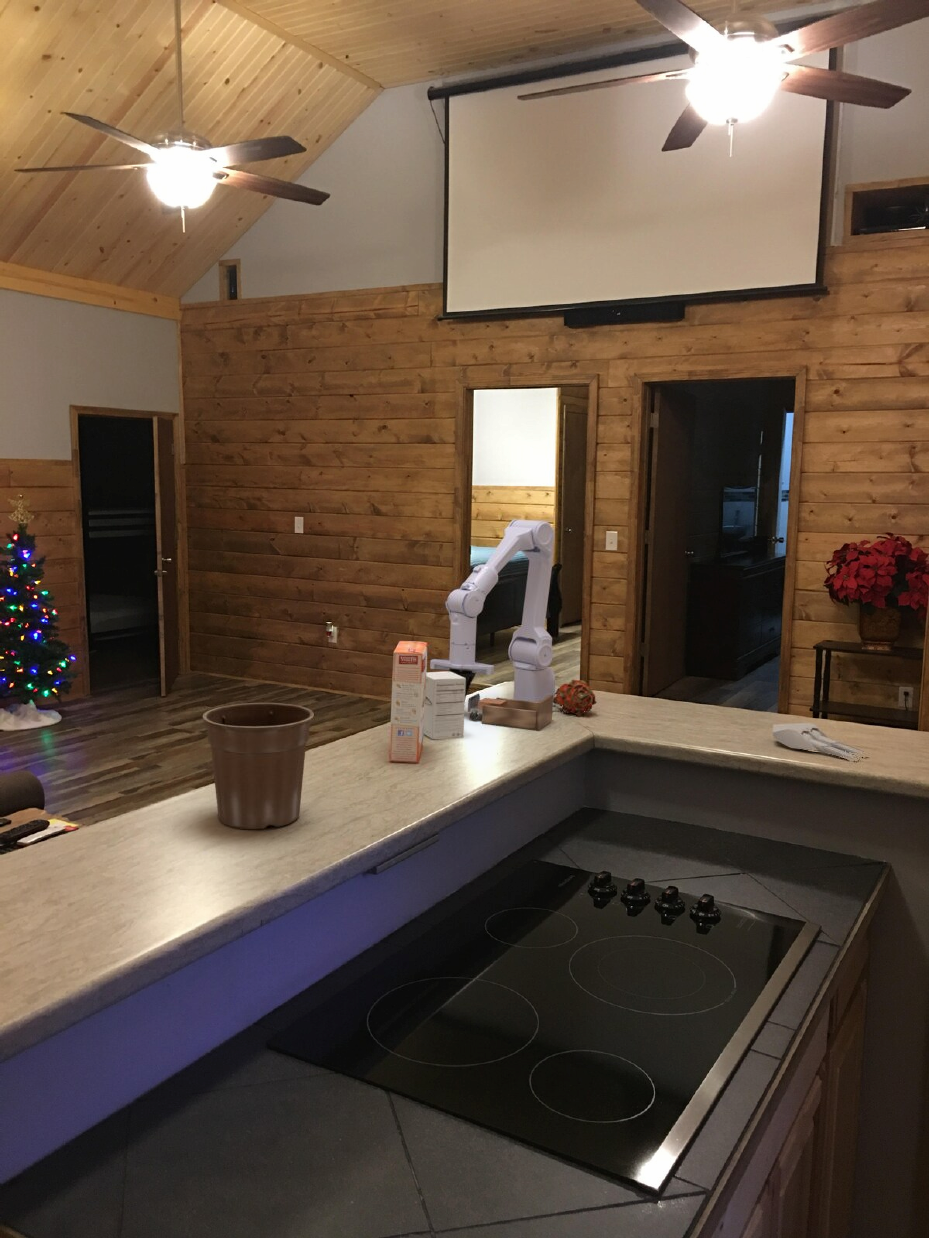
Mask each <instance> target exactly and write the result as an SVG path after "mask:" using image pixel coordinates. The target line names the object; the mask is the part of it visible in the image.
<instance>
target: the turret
mask: <svg viewBox="0 0 929 1238" xmlns="http://www.w3.org/2000/svg"><path fill="white" fill-rule="evenodd" d="M772 736H773V738H774V739H775V740H776V741H777V742H779V743H780V744H783V745H784V746H786V747H788V748H790V749H797V750H800V749H806V750H814V751H819V752H821V753H823V754H827V753H830V754H833V755H837V756H842V757H843V756H844V757H847V758H851V759H855V758H857V756H855V755H854V754H850V753H849V752H851V753H859V754H862V753H866V751H863V750H860V749H858V748H855V747H853V746H850V745H847V744H844V743H843V742H840V741H838V740H836V739H833V738H830V737H829V736H827V735H826V734H825V733H824V732H823V731H822V730H821V729H820V728H819V727H818V726H817V725H816V724H813V723H812V722H795V723H779V724H773V725H772ZM845 751H846V752H845ZM833 755H832V756H833ZM857 759H858V758H857ZM855 760H856V759H855Z"/></svg>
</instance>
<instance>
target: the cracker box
mask: <svg viewBox="0 0 929 1238" xmlns="http://www.w3.org/2000/svg"><path fill="white" fill-rule="evenodd" d="M392 656H393V657H392V658H393V659H392V680H391V703H390V704H391V710H390V727H389V730H390V732H389V733H390V734H389V753H388V755H389V757H388V761H389V762H392V761H393V762H396V763H411V764H418V763H419V761H420V758H421V757H420V756H421V753H422V749H423V746H424V734H423V732H424V715H425V696H426V673H427V670H428V669H427V668H428V667H427V666H428V642H425V641H413V640H412V641H411V640H409V641H408V640H400V641H398V643H397V646H396V648H395V649H394V651H393V655H392Z"/></svg>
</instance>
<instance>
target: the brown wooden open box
mask: <svg viewBox="0 0 929 1238" xmlns="http://www.w3.org/2000/svg"><path fill="white" fill-rule="evenodd" d="M495 699H500V700H507V707H509V708H504V707H496V706H487V705H483V706H482V713H481V724H482V725H489V726H496V727H497V726H498V727H506V728H513V729H514V728H515V729H522V730H527V731H529V730H530V731H536V732H537V731H538V732H539V731H541V730H542V729H544V728H545V727H546V726H548V725H549V724H550V723H552V721H553V695H548V696H547V697H545V698H544V699H542V700H540V701H539V702H532V701H524V700H515V699H513V698H506V697H505V698H503V697H496V698H495Z"/></svg>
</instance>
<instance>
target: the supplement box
mask: <svg viewBox="0 0 929 1238" xmlns="http://www.w3.org/2000/svg"><path fill="white" fill-rule="evenodd" d="M465 686H466V678H464V677H462V676H459V675H457V674H455V673H453V672H449V670H445V671H432V672H427V673H426V696H425V715H424V732H423V735H425V736H427V737H428V738H429V739H431V740H433V739H434V740H444V739H445V740H446V738H449V739H457V738H460V739H461V738H464V731H465V730H464V729H465V728H464V727H465V707H466V706H465V705H466V704H465V703H466V699H465Z"/></svg>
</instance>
